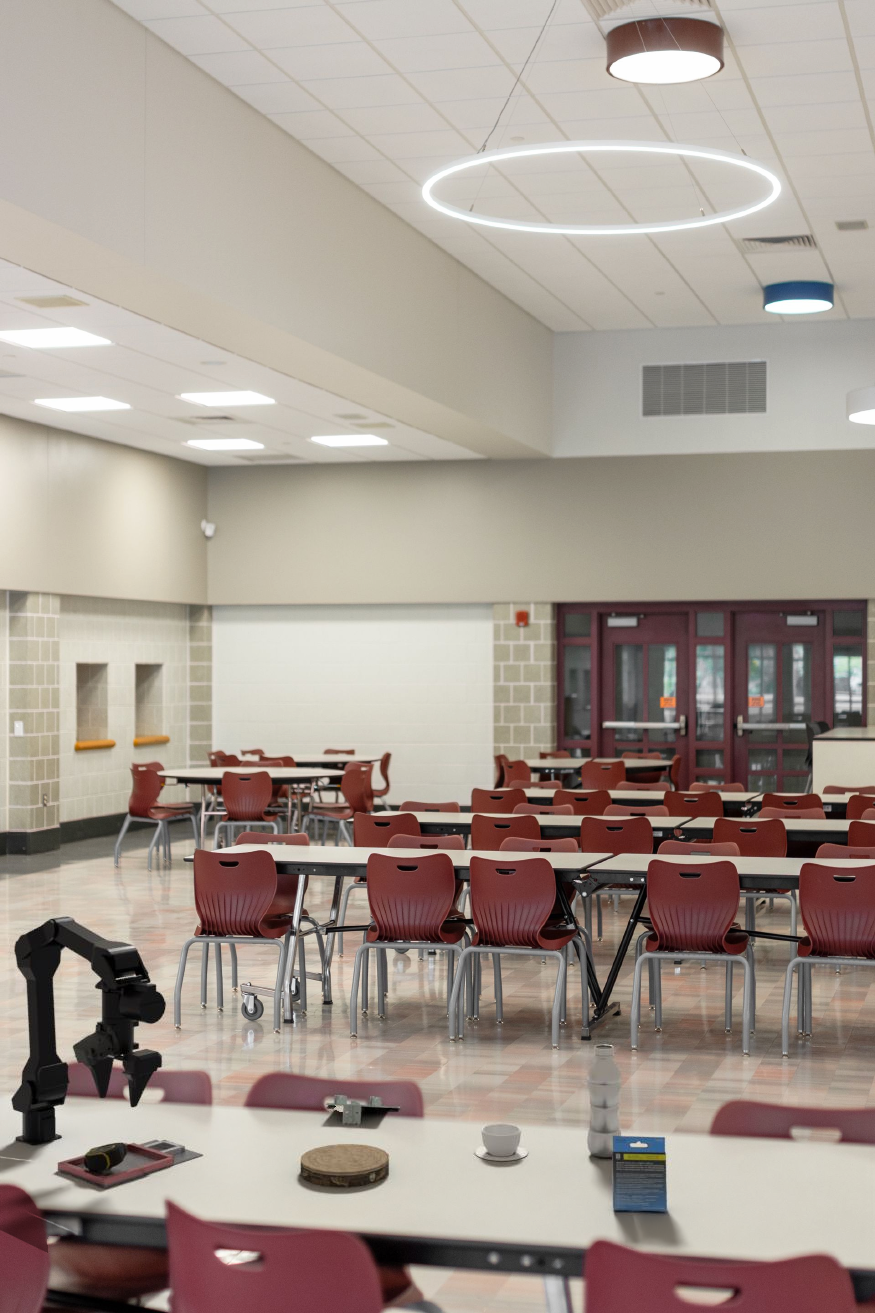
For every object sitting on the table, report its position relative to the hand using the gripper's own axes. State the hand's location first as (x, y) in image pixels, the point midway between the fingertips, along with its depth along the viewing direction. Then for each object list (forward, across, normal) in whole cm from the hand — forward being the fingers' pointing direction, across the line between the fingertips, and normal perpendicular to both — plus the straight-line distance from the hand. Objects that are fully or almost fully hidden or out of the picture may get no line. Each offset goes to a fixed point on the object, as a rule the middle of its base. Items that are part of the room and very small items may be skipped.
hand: (118, 1102), depth 265 cm
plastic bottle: (+12, +63, +63) cm, 90 cm away
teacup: (+12, +48, +52) cm, 71 cm away
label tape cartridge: (+12, +83, +44) cm, 95 cm away
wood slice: (+12, +33, +25) cm, 43 cm away
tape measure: (+11, 0, 0) cm, 11 cm away
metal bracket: (+11, +17, +55) cm, 59 cm away
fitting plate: (+12, 0, +3) cm, 12 cm away
